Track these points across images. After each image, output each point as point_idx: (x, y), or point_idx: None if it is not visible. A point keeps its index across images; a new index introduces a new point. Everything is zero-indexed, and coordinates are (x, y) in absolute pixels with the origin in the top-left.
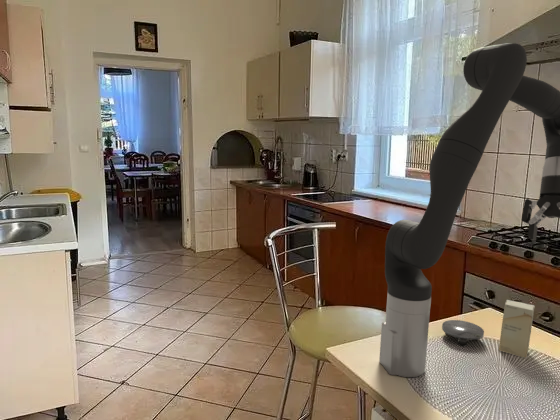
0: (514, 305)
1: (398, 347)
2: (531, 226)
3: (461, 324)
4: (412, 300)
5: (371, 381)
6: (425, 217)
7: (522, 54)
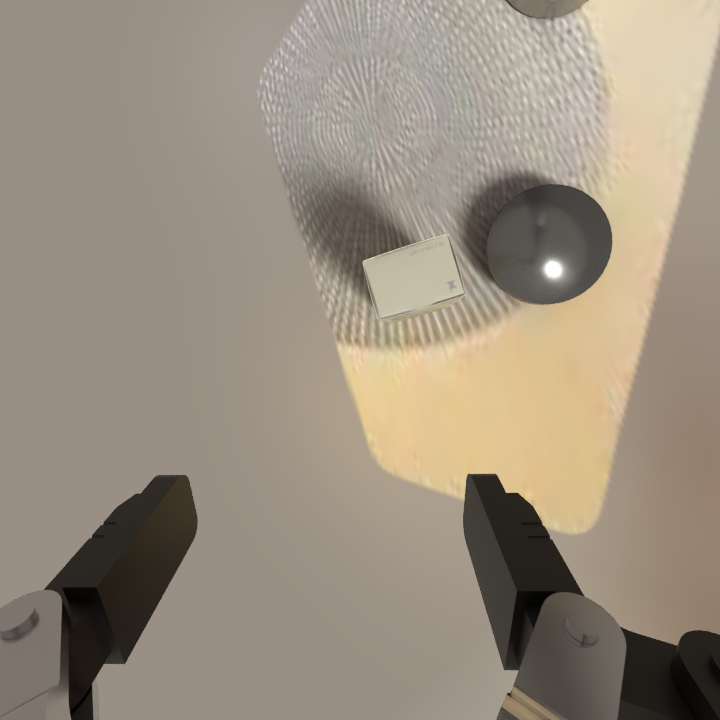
0: (421, 252)
1: None
2: (544, 573)
3: (564, 265)
4: None
5: None
6: None
7: None
